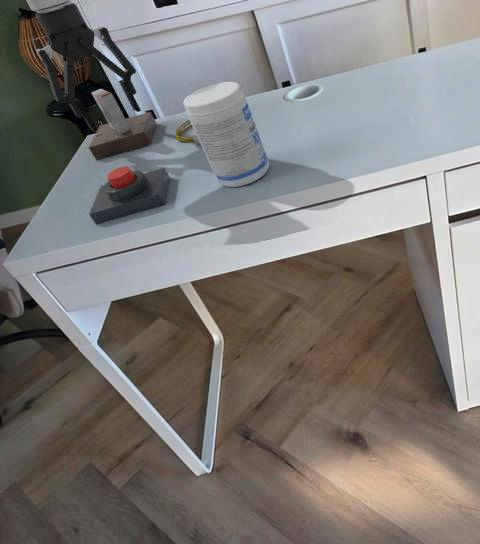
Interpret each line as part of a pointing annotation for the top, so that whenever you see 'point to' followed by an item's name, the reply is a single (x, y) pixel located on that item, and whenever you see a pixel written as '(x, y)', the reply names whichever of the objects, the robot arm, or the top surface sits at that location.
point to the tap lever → (111, 110)
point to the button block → (131, 196)
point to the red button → (121, 177)
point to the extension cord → (194, 139)
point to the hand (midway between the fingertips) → (116, 119)
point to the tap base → (123, 137)
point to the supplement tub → (227, 133)
